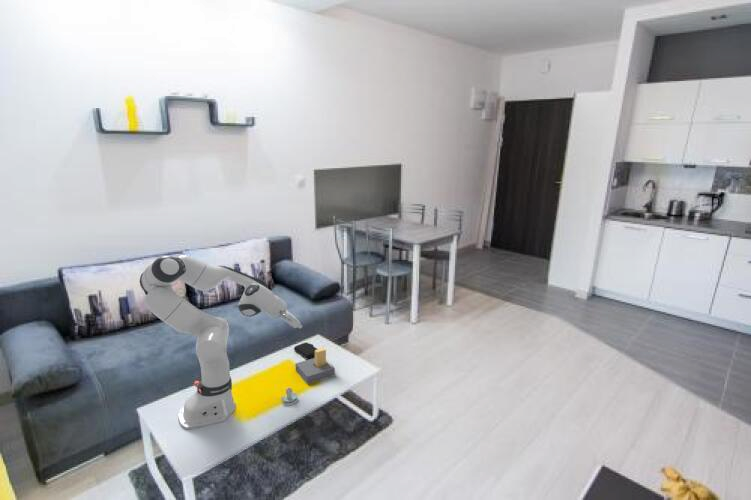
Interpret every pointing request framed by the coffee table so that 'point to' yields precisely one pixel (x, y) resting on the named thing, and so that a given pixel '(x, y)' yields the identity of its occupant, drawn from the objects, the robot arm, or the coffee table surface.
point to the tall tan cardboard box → (320, 357)
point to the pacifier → (290, 397)
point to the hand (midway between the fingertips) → (296, 323)
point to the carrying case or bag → (306, 350)
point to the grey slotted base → (314, 370)
